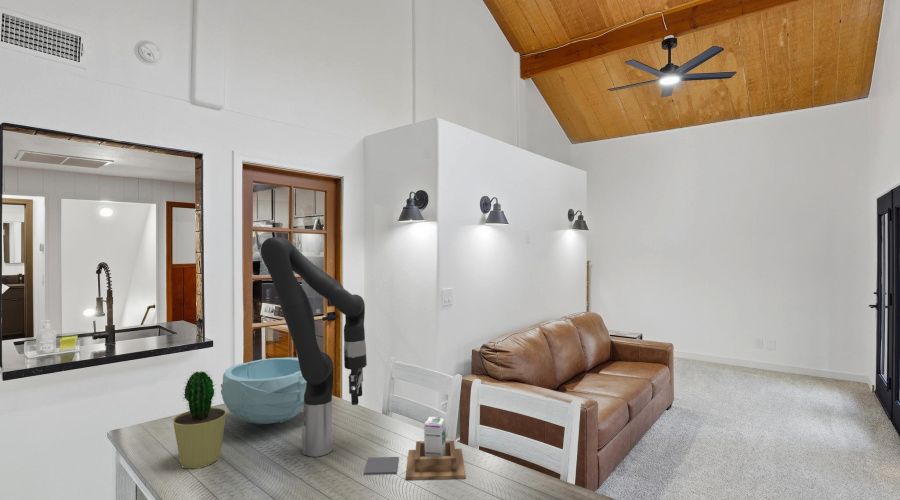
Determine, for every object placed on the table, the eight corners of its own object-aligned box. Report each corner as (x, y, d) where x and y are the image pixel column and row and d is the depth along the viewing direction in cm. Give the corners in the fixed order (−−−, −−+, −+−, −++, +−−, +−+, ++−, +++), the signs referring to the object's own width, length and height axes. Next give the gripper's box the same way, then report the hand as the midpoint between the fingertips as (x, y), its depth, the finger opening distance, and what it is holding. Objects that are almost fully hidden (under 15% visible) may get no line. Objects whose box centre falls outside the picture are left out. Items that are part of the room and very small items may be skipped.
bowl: (259, 450, 157) (259, 386, 156) (203, 428, 175) (202, 372, 175) (335, 417, 186) (334, 364, 186) (280, 402, 205) (279, 353, 205)
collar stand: (405, 480, 136) (405, 463, 136) (408, 452, 154) (408, 438, 154) (465, 478, 137) (465, 462, 137) (461, 451, 155) (461, 437, 155)
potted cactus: (237, 453, 154) (236, 365, 154) (199, 475, 140) (197, 378, 139) (202, 447, 159) (201, 361, 159) (161, 467, 145) (160, 373, 144)
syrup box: (442, 470, 142) (442, 424, 142) (424, 468, 143) (423, 422, 143) (446, 461, 148) (446, 417, 147) (428, 460, 149) (428, 416, 149)
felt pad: (363, 474, 140) (363, 472, 140) (368, 459, 150) (368, 457, 150) (396, 473, 140) (396, 471, 140) (398, 458, 150) (398, 456, 150)
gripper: (347, 349, 163) (349, 394, 163) (339, 359, 149) (342, 408, 149) (368, 348, 163) (370, 392, 164) (363, 357, 149) (365, 407, 149)
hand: (357, 400), depth 156 cm, fingers open, 8 cm apart
